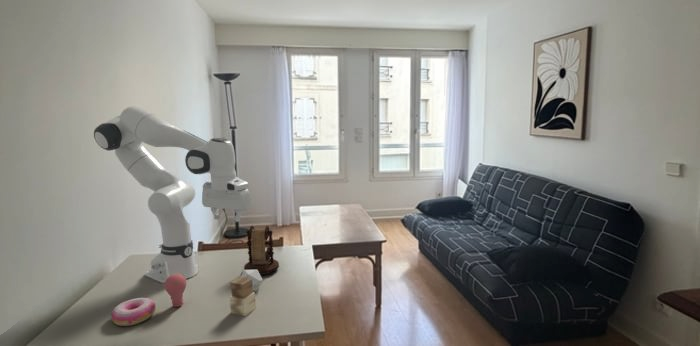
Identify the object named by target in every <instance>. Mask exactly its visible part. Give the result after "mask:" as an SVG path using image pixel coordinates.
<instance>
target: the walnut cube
mask: <svg viewBox="0 0 700 346" xmlns="http://www.w3.org/2000/svg"><path fill="white" fill-rule="evenodd" d="M230 288H231V296H234V297H239V298H243V299H244V298H245V297H247V296H248V295H250V294H251V293H253V292H254V291H253V284H252V279H250V278H245V277H241V276H240V277H238V278H236V279H234V280H232V281H231V282H230Z"/></svg>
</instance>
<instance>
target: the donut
mask: <svg viewBox="0 0 700 346" xmlns="http://www.w3.org/2000/svg"><path fill="white" fill-rule="evenodd" d="M155 311H156V303H155V302H154V300H152V299H151V298H148V297H137V298H132V299H128V300H125V301H122V302H121V303H119V304H118V305H116V306H115V307H114V308H113V310H112V312H111V315H110V316H111V320H112V322H113V323H114V324H115V325H116V326H122V327H128V326H129V327H130V326H135V325H139V324H141V323H143V322H145V321H147V320H148V319H149V318H151V316H153V314H154V313H155Z"/></svg>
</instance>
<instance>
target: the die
mask: <svg viewBox="0 0 700 346" xmlns="http://www.w3.org/2000/svg"><path fill="white" fill-rule="evenodd" d="M240 277H245V278H250V279H252V284H253V292H258V290H259V288H260V286H261V284H262V282H263V278H262V275H261V274H259V272H258V270H244V269H243V271H242V273H241V276H240Z"/></svg>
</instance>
